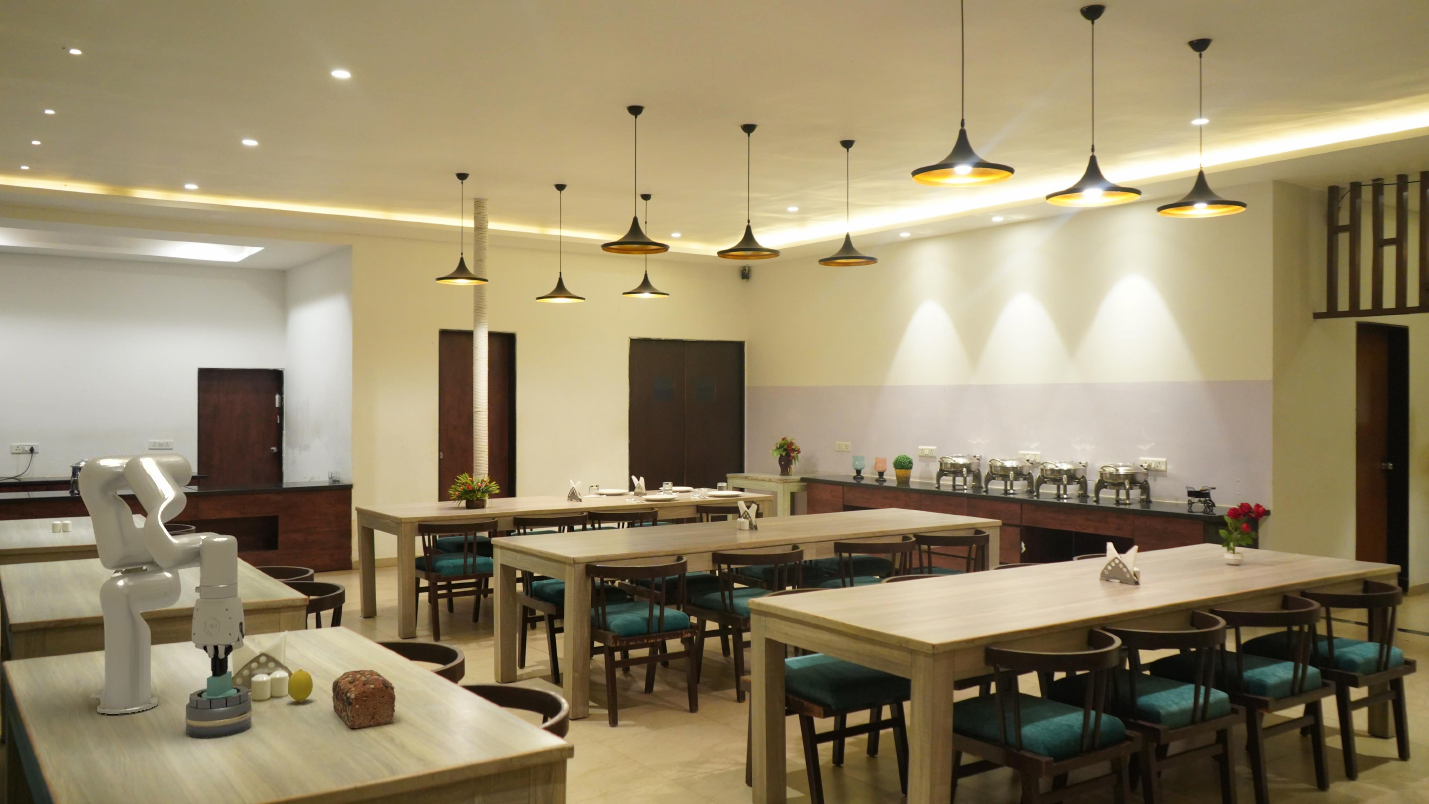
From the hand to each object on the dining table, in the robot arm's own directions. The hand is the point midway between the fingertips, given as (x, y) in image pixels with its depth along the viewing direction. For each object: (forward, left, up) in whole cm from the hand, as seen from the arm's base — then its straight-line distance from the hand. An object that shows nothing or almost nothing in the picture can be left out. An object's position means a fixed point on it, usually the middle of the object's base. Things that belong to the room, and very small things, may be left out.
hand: (219, 674), depth 227 cm
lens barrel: (0, 0, -12) cm, 12 cm away
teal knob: (0, 0, -6) cm, 6 cm away
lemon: (+8, +21, -12) cm, 26 cm away
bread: (+28, +11, -12) cm, 32 cm away
